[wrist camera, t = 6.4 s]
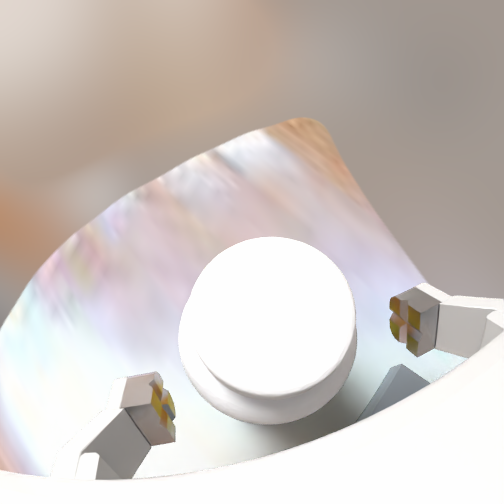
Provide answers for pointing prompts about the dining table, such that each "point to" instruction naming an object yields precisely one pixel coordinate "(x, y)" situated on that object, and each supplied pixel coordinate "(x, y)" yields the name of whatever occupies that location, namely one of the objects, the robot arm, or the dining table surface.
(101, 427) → the robot arm
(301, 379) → the supplement bottle
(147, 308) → the dining table surface
